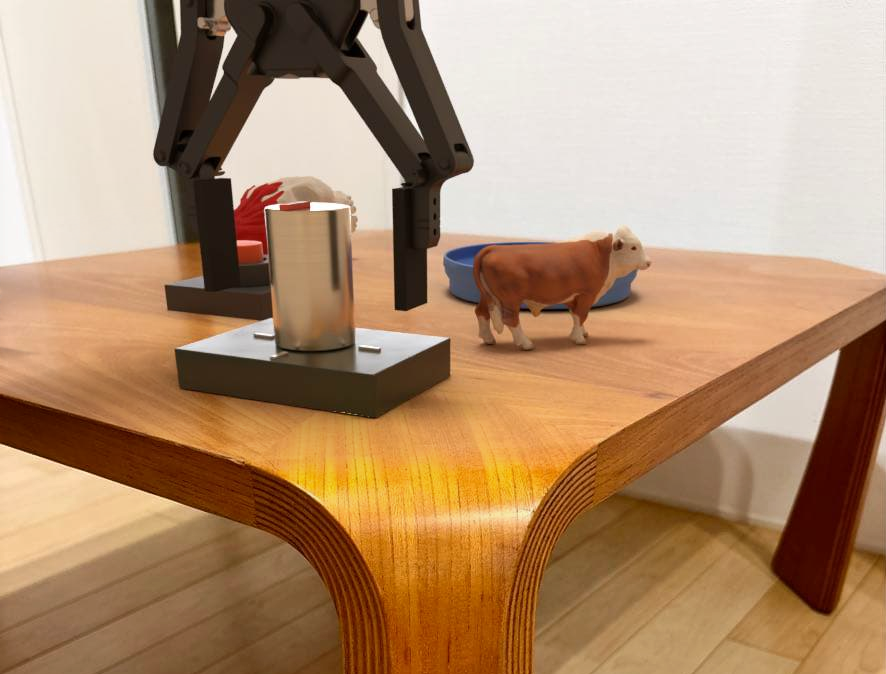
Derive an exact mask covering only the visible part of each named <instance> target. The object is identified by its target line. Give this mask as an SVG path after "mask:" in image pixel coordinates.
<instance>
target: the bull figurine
mask: <svg viewBox="0 0 886 674" xmlns="http://www.w3.org/2000/svg"><path fill="white" fill-rule="evenodd" d="M652 263H653V261H652V258H651V257H650V256H649V254H648V253H647V251H646V249H645V247H644V246H643V243H642V241H641V240H640V239H639V238H638V236H637V235H636V234H634V233H633V232H632V230H631V229H630V228H629V227H628V226H627V225H622V226H620V227H618V228H617V230H616V231H615V232H613V233H609V232H606V231H602V230H591V231H588V232H587V233H585V234H583V235H582V236H579V237H573V238H569V239H566V240H562V241H557V242H556V243H548V244H527V245H490V246H487V247H485V248H483V249H482V250H481V251H480V252H479V253H478V254H477V256H476V257H475V259H474V264H473V275H474V280H475V283H476V285H477V287H478V289H479V291H480V292H481V299H480V302H479V303H477V305H476V306H475V309H474V314H475V315H476V320H477V323H478V330H479V331H478V338H479V339H481V340H482V341H483V343H485V344H486V345H494V344H496V343H497V340H496V337H495V336H494V333H493V332H492V329H491V324H492V327H493V330H494V331H495V332H496V333H497V334H498V335H501V334H503V332H504V327H505V326H506V328H508V330H509V331H510V333H511V335H512V340H513V344H514V346H516V347H520V346H521V348H522V349H523V350H533V349H535V345H534V343H533V342H532V341H531V340H530V338H529V337H528V336H527V335H526V333H524V331H523V328H522V325H521V321H520V310H521V308H520V306H521V303H524V304H525V305H527V306H528V308H529V309H528V310H529V311H530V312H531V314H532V316H533V317H534V318H537V317H539V316H540V315H541V311H542V310H544V309H543V308H544V307H547V306H551V305H555V304H559V303H561V304H564V305H566V306H568V307H569V309H568V311H569V315H570V316H571V318H572V321H573V326H572V329H571V332H570V333H569V338H570V340H571V341H574V343H576V345H586V344H587V341H586V338H585V337H588V336H589V332H588V331H587V330H586V328H585V326H584V323H585V322H586V321H587V319H588V316H589V313H590V310H591V308H593V307H592V305H594V304H595V303H597V302H598V300H599V299H600V297H601V296H602V295H604V294H605V293H606V292H607V291H608V290H609V289H610V288H611V287H612V285H613V283H614V281H615V279H616V278H620V277H624V276H626V275H628V274H629V273H630V272H632V271H633V270H635V269H638V271H639V270H640V271H646V270H648V269H650V267H651V265H652Z"/></svg>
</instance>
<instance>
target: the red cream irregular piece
mask: <svg viewBox="0 0 886 674" xmlns="http://www.w3.org/2000/svg"><path fill="white" fill-rule="evenodd" d="M300 201H310V203H335V204H344V205H348V206H350V215H351V235H352V234H353V233H354V232H355V231H356V228H357V227H358V225H357V223H358V221H359V219H358V216H357V215H354V214H356V213H357V207H356V206H355V205H354V204H355V203H354V202H355V201H354V200H353V199H352V196H351V195H349V194H348V195H347V194H345V193H344V192H343V191H342V190H333V189H332V187H331V186H329V185H328V184H327V183H325V182H324V181H322V180H321V179H319V178H318V177H314V176H311V175H306V176H304V175H303V176H298V175H297V176H296V175H295V176H284V177H280V178H278V179H276V180H272V181H269V182H265V183H264V184H260V185H255V184H254V185H252V186H251V187H250V188H247V189H246V190H245V191H244V192H243V194H242V196H241V198H240V201H239V204H238V206H237V207H236V208H234V217H235V228H236V239H237V241H238V240H250V241H259V242H262V246H263V255H268V249H267V236H266V223H265V211H264V209H265V207H267V206H270V205H276V204H287V203H293V202H300Z"/></svg>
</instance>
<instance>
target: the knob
mask: <svg viewBox="0 0 886 674" xmlns="http://www.w3.org/2000/svg"><path fill="white" fill-rule="evenodd" d="M264 211H265V223H266V236H267V249H268V261H269V274H270V287H271V300H272V312H273V325H274V338H275V344H276V345H277V346H278V347H280V348H283V349H287V350H293V351H329V350H336V349H341V348H345V347H348V346H350V345H352V344H354V343H355V340H356V339H355V328H356V319H355V318H356V317H355V294H354V293H355V291H354V272H353V271H354V269H353V267H354V266H353V243H352V242H353V241H352V234H351V215H352V214H351V215H350V206H348V205H344V204H335V203H310V201H300V202H293V203H287V204H276V205H270V206H267V207H265V209H264Z"/></svg>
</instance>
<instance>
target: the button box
mask: <svg viewBox="0 0 886 674" xmlns="http://www.w3.org/2000/svg"><path fill="white" fill-rule="evenodd" d="M263 259H264V261H261V262H253V263H239V271H240V282H241V285H240V286H236V287H232V288H228V289H225V290H221V291H217V292H208V291H205V288H204V279H203V275H200V276H195V277H192V278H187V279H184V280H178V281H174V282H170V283H166V284H164V285H163V286H164V293H165V301H166V308H167V309H166V311H172V312H182V313H189V314H190V313H191V314H197V315H199V314H200V315H207V316H208V315H209V316H216V317H226V318H233V319H234V318H235V319H242V320H243V319H244V320H251V321H252V320H253V321H263V320H266V319H269V318H273V312H272V300H271V287H270V274H269V261H268V255H263Z"/></svg>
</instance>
